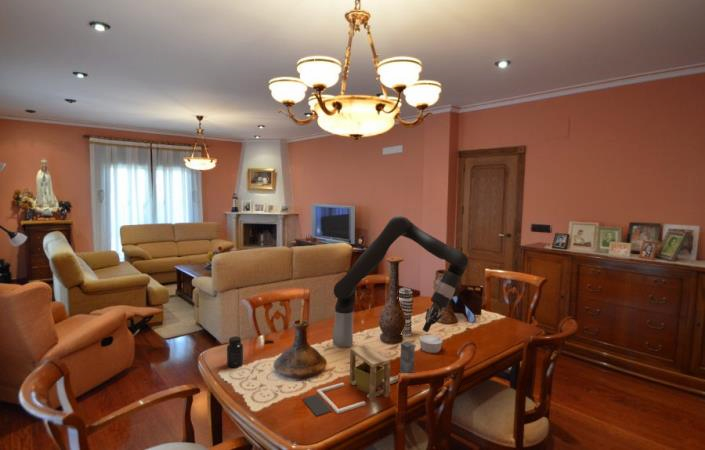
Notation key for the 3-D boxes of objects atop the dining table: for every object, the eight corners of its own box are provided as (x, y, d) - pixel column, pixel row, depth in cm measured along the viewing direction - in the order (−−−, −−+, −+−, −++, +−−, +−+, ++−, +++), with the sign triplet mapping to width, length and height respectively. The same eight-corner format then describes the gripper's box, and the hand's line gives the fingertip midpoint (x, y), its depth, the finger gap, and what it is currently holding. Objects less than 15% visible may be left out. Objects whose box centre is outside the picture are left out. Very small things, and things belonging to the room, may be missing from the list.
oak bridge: (366, 378, 155) (367, 344, 153) (389, 396, 141) (390, 359, 140) (349, 382, 150) (350, 348, 149) (371, 402, 137) (372, 364, 136)
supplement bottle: (226, 362, 166) (226, 336, 164) (242, 360, 168) (242, 334, 167) (227, 369, 159) (227, 342, 158) (243, 367, 162) (243, 340, 160)
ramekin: (442, 355, 179) (442, 344, 178) (418, 352, 181) (419, 342, 181) (441, 346, 190) (442, 336, 189) (419, 343, 192) (419, 333, 192)
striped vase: (414, 332, 207) (416, 288, 205) (408, 337, 199) (410, 291, 197) (399, 329, 212) (400, 285, 210) (392, 334, 204) (394, 289, 202)
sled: (401, 370, 162) (402, 338, 160) (419, 382, 152) (421, 348, 150) (352, 384, 149) (353, 349, 147) (368, 398, 139) (369, 361, 137)
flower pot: (366, 381, 152) (367, 360, 151) (384, 389, 146) (385, 367, 146) (352, 390, 145) (353, 367, 144) (370, 398, 140) (371, 375, 139)
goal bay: (342, 384, 149) (342, 382, 149) (365, 404, 135) (365, 402, 135) (316, 391, 143) (316, 389, 143) (337, 413, 129) (337, 411, 129)
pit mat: (316, 395, 141) (316, 394, 141) (331, 411, 130) (331, 410, 130) (302, 399, 138) (302, 398, 138) (316, 416, 127) (316, 415, 127)
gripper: (430, 289, 168) (412, 324, 166) (441, 292, 155) (422, 329, 153) (444, 297, 169) (427, 332, 166) (456, 300, 155) (437, 338, 153)
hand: (424, 331), depth 159 cm, fingers closed
